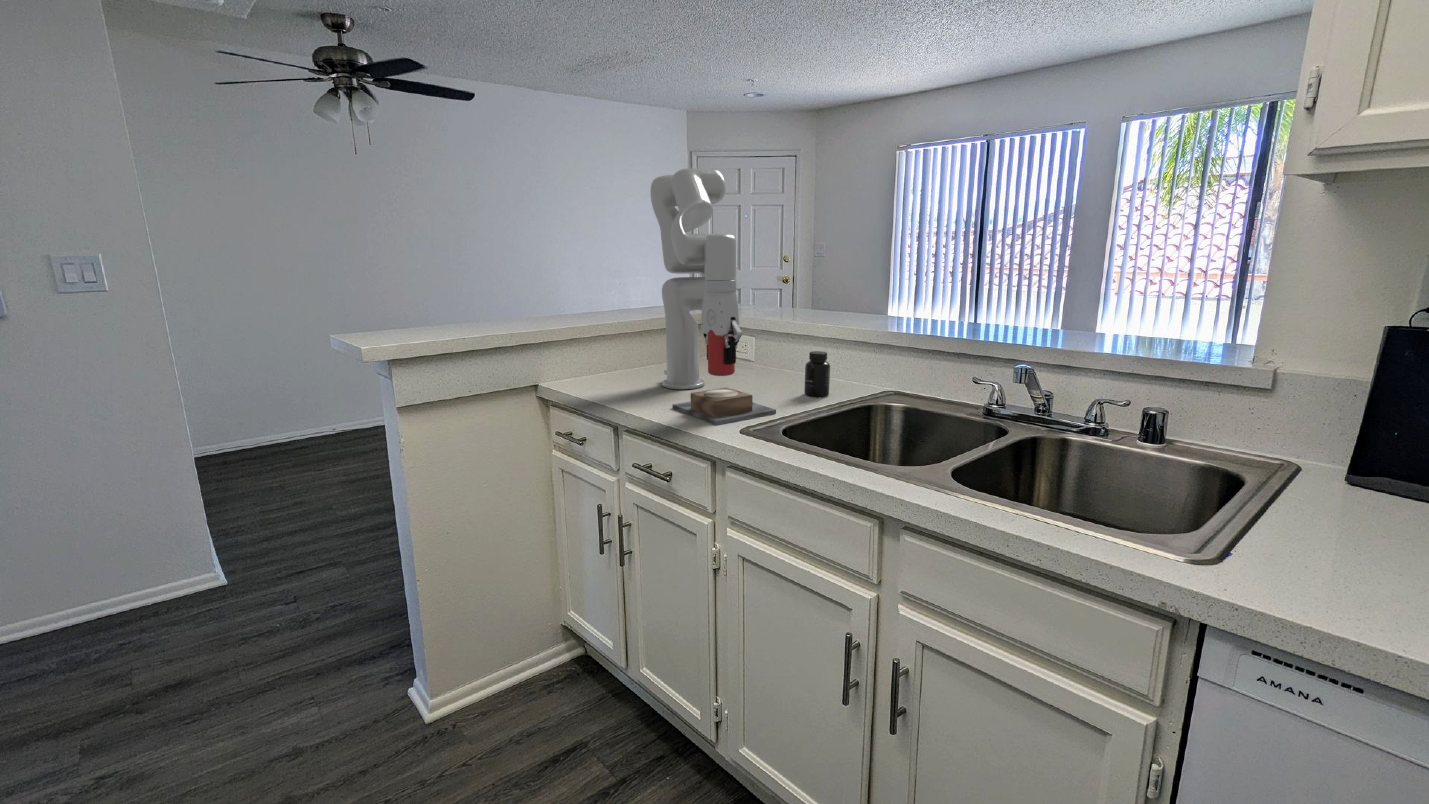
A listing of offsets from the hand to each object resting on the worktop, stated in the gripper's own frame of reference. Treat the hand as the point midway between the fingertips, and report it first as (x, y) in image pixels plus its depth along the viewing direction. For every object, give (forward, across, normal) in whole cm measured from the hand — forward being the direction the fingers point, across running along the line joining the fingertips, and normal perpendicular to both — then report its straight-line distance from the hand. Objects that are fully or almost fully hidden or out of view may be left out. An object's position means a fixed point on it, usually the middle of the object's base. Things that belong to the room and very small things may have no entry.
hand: (721, 361), depth 164 cm
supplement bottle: (+13, -1, +33) cm, 36 cm away
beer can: (+3, 0, 0) cm, 3 cm away
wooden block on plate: (+13, -2, +2) cm, 14 cm away
